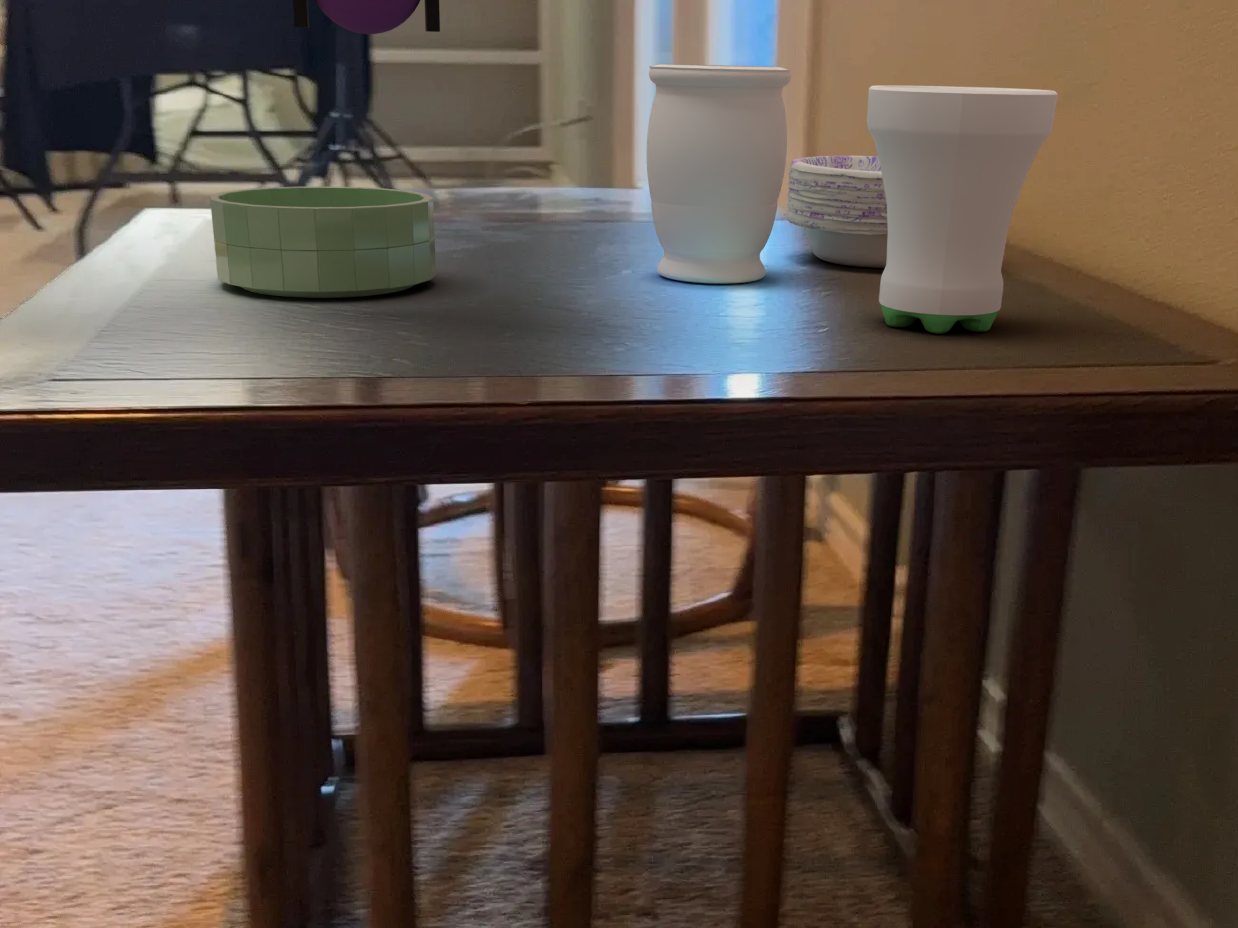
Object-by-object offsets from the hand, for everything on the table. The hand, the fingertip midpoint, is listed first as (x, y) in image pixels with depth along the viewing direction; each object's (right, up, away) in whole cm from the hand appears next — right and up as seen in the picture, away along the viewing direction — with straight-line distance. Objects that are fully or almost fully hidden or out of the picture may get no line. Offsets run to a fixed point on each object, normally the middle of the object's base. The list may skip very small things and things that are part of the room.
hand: (367, 28), depth 82 cm
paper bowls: (+36, -5, +34) cm, 50 cm away
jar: (+22, -9, +24) cm, 34 cm away
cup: (+35, -16, +7) cm, 40 cm away
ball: (0, 0, 0) cm, 0 cm away
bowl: (-6, -11, +17) cm, 21 cm away
